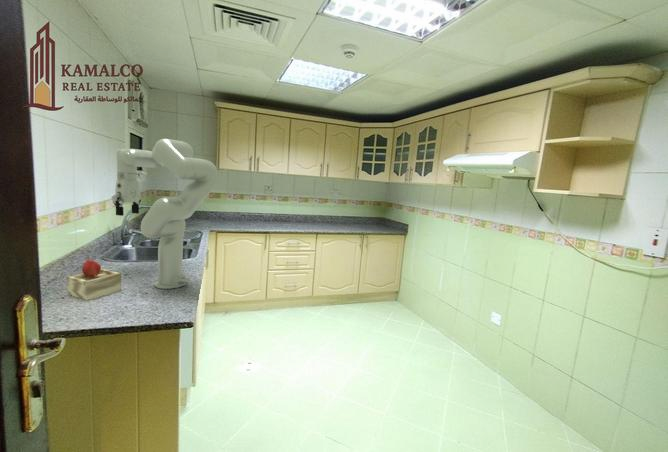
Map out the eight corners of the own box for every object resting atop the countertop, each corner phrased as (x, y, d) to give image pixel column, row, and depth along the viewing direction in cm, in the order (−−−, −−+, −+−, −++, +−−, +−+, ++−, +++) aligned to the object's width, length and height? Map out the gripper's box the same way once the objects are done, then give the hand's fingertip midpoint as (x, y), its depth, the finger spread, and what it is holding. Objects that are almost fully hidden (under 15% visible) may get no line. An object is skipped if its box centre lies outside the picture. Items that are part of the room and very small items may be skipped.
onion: (82, 280, 121) (74, 263, 122) (94, 280, 126) (85, 263, 128) (96, 272, 121) (88, 255, 122) (107, 273, 127) (99, 256, 128)
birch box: (121, 290, 129) (120, 273, 128) (86, 301, 117) (86, 282, 116) (103, 285, 133) (102, 268, 132) (68, 295, 121) (67, 276, 120)
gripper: (120, 177, 134) (121, 217, 136) (147, 177, 151) (148, 213, 154) (103, 176, 135) (105, 215, 137) (133, 176, 152) (133, 211, 154)
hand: (127, 214), depth 145 cm, fingers open, 9 cm apart
